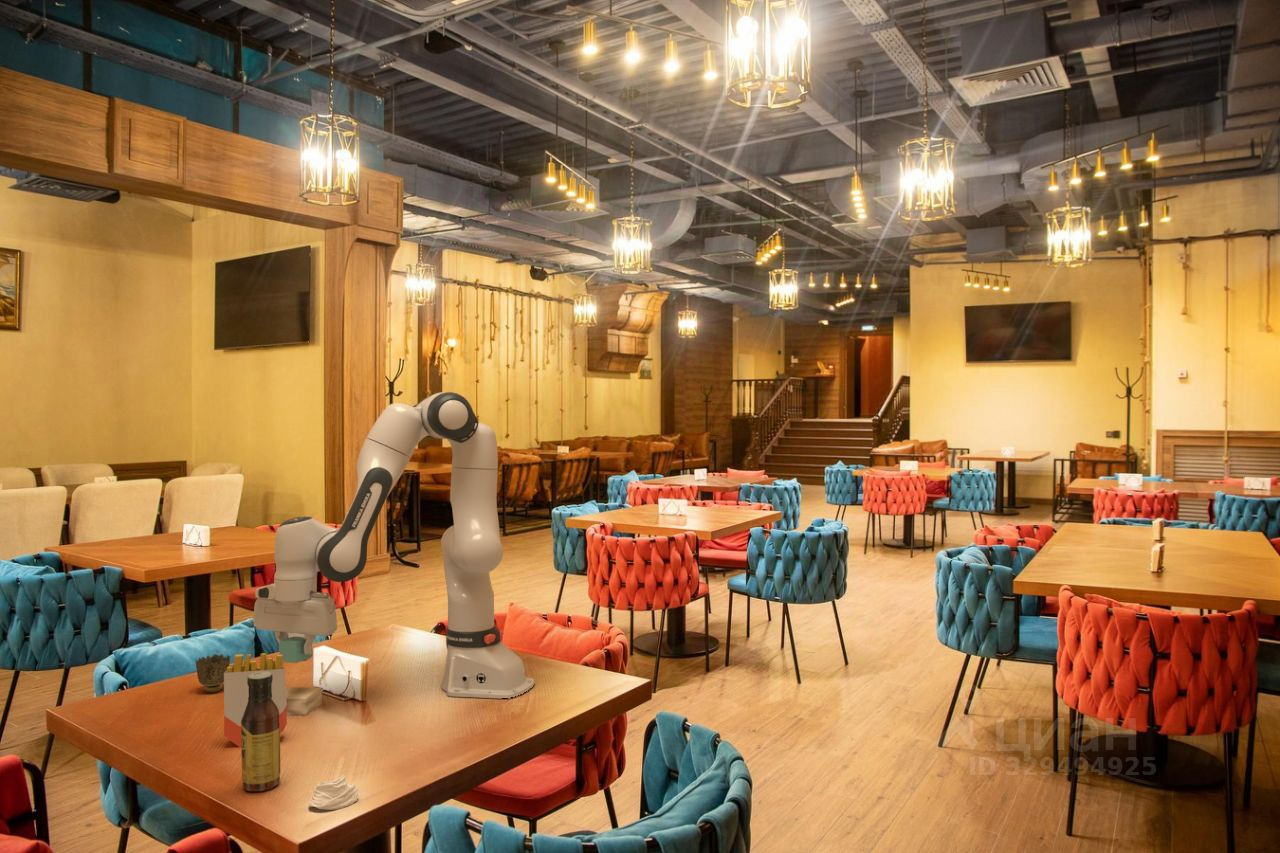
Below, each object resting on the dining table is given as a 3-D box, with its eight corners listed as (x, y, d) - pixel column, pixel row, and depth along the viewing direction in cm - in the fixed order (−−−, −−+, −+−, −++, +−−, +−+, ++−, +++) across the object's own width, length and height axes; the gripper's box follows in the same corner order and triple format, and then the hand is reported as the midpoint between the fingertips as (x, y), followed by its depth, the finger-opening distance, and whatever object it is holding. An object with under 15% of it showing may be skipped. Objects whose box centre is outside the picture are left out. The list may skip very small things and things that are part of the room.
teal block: (310, 658, 192) (310, 637, 192) (296, 663, 188) (296, 642, 188) (294, 656, 193) (294, 636, 193) (279, 661, 189) (279, 640, 189)
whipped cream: (319, 823, 139) (319, 794, 138) (299, 807, 143) (298, 779, 142) (364, 803, 145) (363, 775, 144) (343, 788, 149) (343, 761, 148)
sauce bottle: (249, 779, 153) (249, 668, 153) (285, 778, 154) (285, 667, 154) (235, 795, 147) (234, 679, 146) (273, 793, 147) (272, 678, 147)
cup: (188, 694, 202) (188, 660, 202) (214, 685, 209) (214, 652, 209) (211, 697, 199) (211, 663, 199) (237, 688, 206) (237, 655, 206)
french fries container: (229, 740, 172) (229, 650, 172) (287, 735, 175) (286, 647, 175) (224, 748, 168) (223, 656, 168) (283, 743, 170) (282, 653, 170)
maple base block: (321, 705, 194) (321, 687, 194) (306, 717, 186) (305, 698, 186) (287, 704, 195) (287, 687, 195) (270, 716, 187) (270, 698, 187)
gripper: (343, 590, 190) (343, 653, 190) (269, 584, 197) (269, 644, 197) (324, 596, 184) (323, 660, 184) (249, 589, 191) (248, 651, 191)
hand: (295, 652), depth 191 cm, fingers closed on teal block, 4 cm apart
